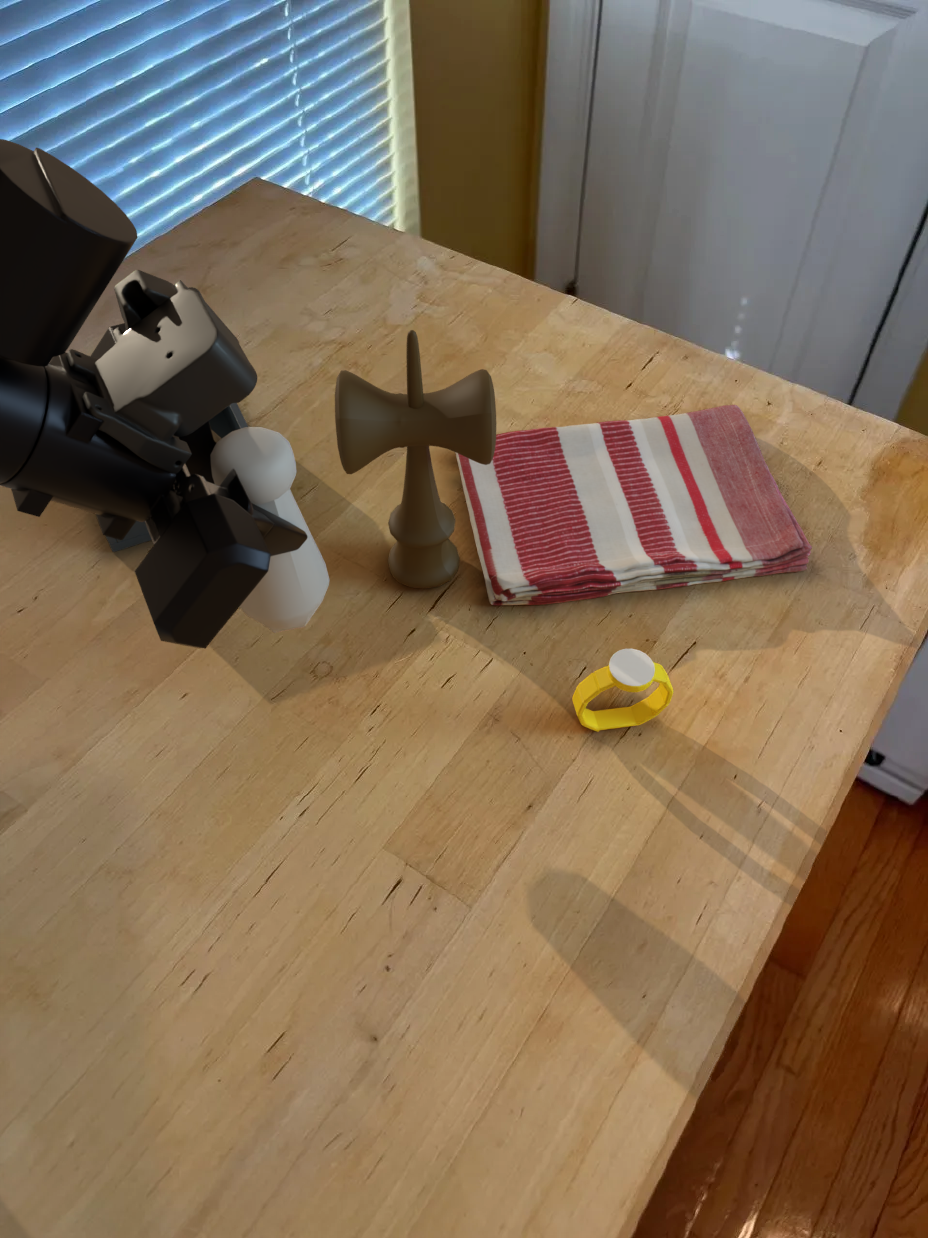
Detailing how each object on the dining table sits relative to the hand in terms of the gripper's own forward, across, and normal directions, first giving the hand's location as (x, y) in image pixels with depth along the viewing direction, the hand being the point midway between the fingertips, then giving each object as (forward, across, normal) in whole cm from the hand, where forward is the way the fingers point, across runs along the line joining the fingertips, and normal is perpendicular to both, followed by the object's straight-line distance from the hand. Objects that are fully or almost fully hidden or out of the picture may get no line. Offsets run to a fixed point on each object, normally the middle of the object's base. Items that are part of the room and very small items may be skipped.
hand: (290, 519), depth 53 cm
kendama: (+16, +4, +2) cm, 17 cm away
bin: (+7, +21, +12) cm, 25 cm away
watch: (+20, -13, -2) cm, 24 cm away
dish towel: (+28, +3, -9) cm, 29 cm away
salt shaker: (+4, 0, +6) cm, 7 cm away
